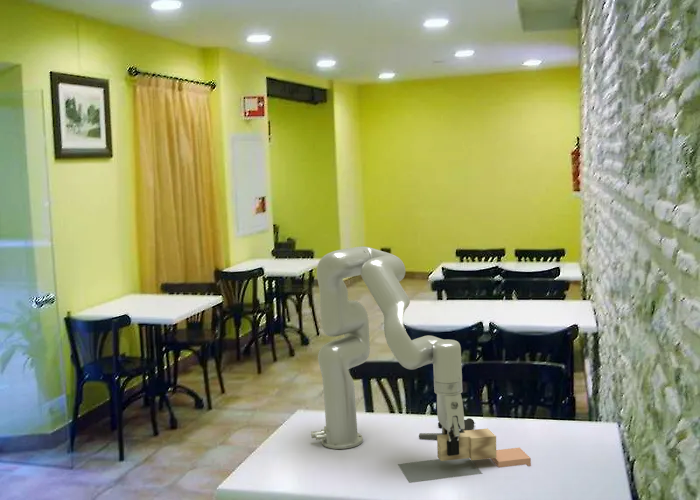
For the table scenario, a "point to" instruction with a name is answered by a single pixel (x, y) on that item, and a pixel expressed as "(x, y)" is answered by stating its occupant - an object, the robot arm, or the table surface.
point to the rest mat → (438, 469)
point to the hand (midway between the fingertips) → (451, 451)
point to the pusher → (469, 445)
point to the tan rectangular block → (511, 457)
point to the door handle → (433, 436)
